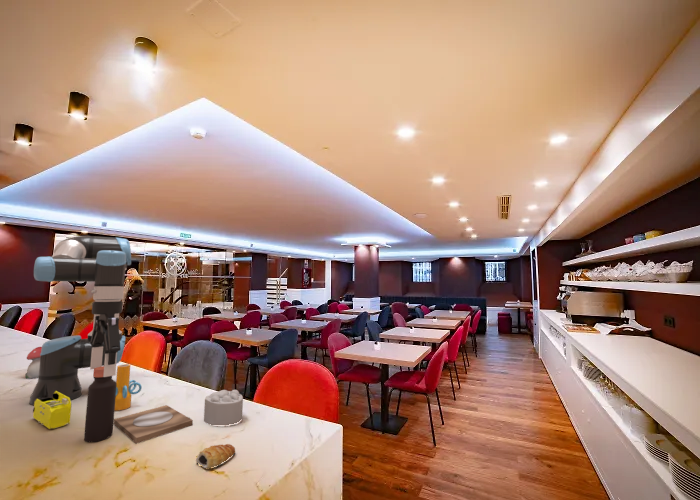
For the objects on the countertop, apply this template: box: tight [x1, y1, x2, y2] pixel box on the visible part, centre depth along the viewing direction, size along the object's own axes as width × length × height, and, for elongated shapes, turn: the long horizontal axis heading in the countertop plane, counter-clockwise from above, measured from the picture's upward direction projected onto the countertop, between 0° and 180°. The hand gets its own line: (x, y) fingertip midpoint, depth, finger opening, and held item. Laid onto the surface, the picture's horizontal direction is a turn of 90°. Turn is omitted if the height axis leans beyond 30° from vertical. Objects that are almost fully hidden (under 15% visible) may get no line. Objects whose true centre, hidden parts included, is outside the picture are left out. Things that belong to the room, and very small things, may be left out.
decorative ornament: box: [24, 346, 42, 379], centre depth 158 cm, size 9×6×15 cm
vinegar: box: [83, 366, 116, 443], centre depth 98 cm, size 7×7×20 cm
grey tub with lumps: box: [203, 389, 244, 426], centre depth 110 cm, size 10×13×9 cm
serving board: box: [113, 404, 194, 444], centre depth 106 cm, size 20×16×2 cm
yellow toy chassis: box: [32, 391, 72, 430], centre depth 107 cm, size 16×6×8 cm, turn 57°
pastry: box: [195, 443, 236, 469], centre depth 85 cm, size 9×7×4 cm
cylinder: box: [114, 363, 142, 412], centre depth 120 cm, size 12×10×15 cm
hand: (102, 372), depth 98 cm, fingers open, 13 cm apart
